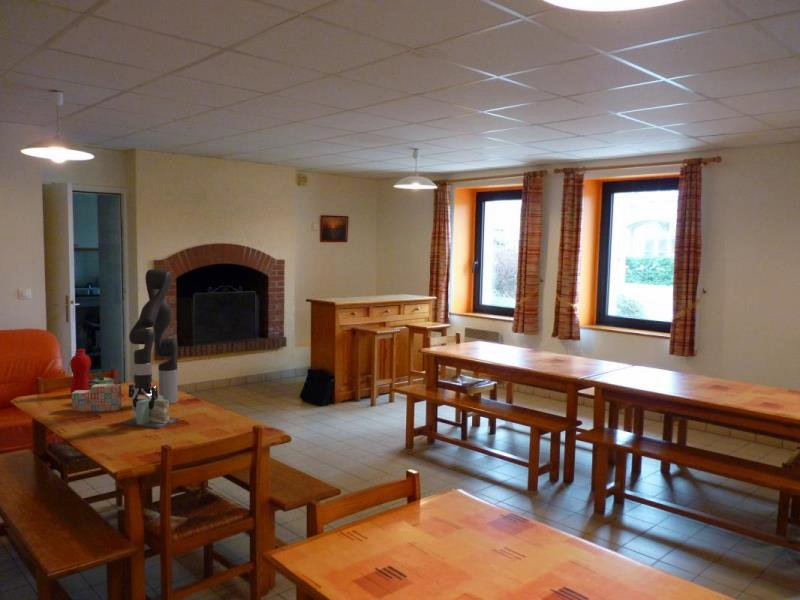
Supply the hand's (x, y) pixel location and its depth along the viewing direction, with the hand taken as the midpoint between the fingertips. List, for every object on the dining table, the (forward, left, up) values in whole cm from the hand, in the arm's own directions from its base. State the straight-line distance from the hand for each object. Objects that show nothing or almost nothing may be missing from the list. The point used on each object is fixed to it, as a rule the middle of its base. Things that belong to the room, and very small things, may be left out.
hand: (143, 407), depth 280 cm
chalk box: (-37, -41, -8) cm, 56 cm away
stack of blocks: (-22, -34, -8) cm, 42 cm away
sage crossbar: (-4, +1, -7) cm, 8 cm away
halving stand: (-4, +1, -8) cm, 9 cm away
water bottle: (-47, -59, -8) cm, 76 cm away
